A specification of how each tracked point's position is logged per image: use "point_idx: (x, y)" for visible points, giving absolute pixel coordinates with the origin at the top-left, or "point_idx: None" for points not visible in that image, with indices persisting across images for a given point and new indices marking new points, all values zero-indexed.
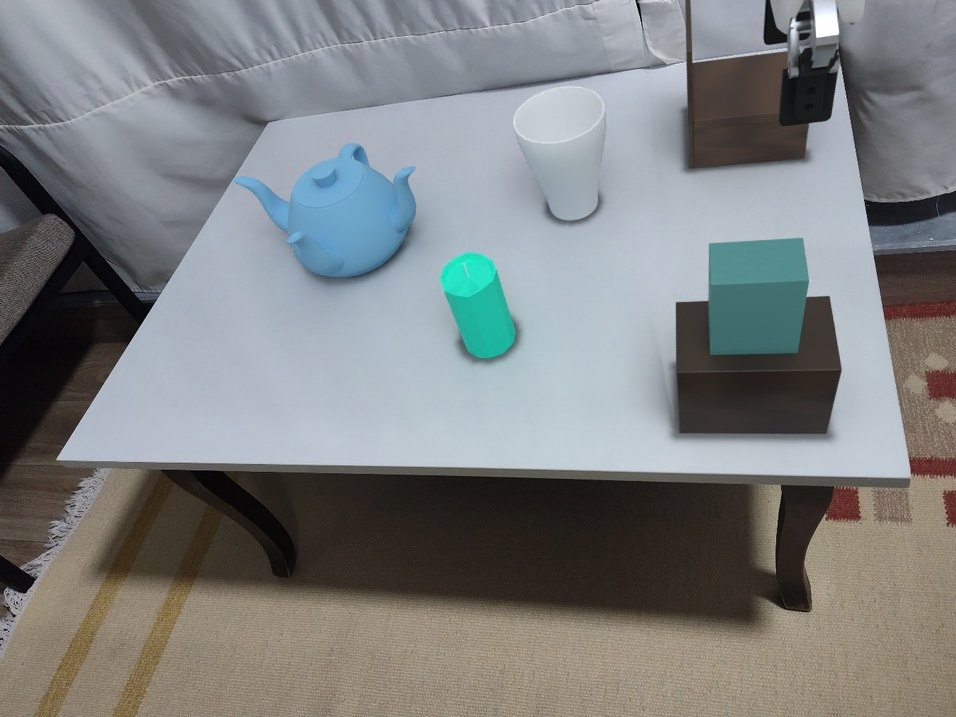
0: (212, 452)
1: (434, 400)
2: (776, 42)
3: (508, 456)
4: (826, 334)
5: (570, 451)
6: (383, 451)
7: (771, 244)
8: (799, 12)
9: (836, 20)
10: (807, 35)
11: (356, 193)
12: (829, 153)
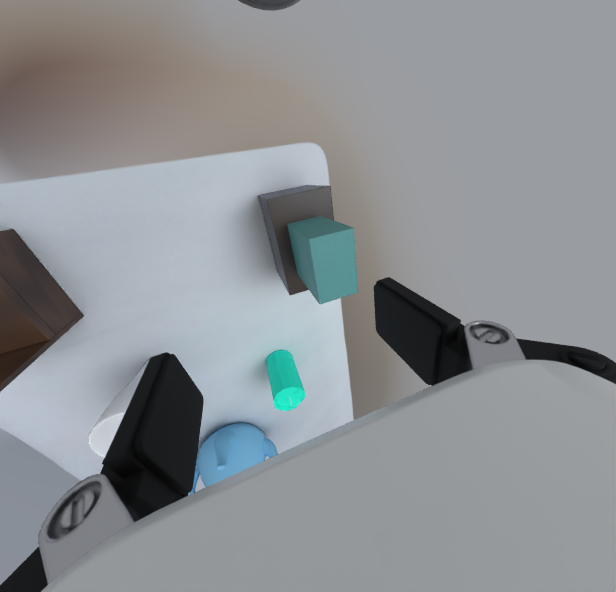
0: (350, 413)
1: (317, 363)
2: (196, 389)
3: (339, 324)
4: (303, 198)
5: (334, 303)
6: (343, 366)
7: (318, 261)
8: (170, 413)
9: None
10: (171, 358)
11: (238, 471)
12: None
